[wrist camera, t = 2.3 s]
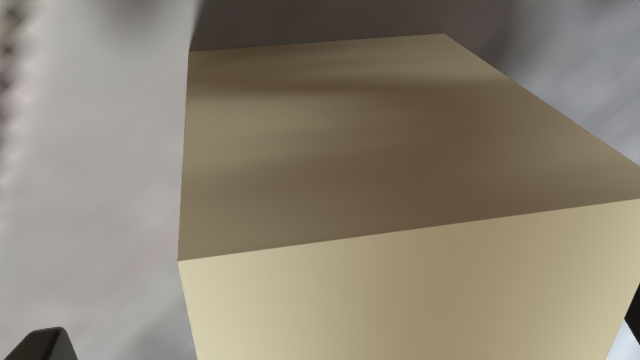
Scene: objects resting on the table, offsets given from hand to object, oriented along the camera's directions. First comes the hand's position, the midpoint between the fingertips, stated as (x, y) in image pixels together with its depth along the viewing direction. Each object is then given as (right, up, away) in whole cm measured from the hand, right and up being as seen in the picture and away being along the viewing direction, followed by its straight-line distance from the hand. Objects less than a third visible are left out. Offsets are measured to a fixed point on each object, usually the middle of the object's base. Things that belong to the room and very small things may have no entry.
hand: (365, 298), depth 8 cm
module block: (-1, +2, +3) cm, 4 cm away
